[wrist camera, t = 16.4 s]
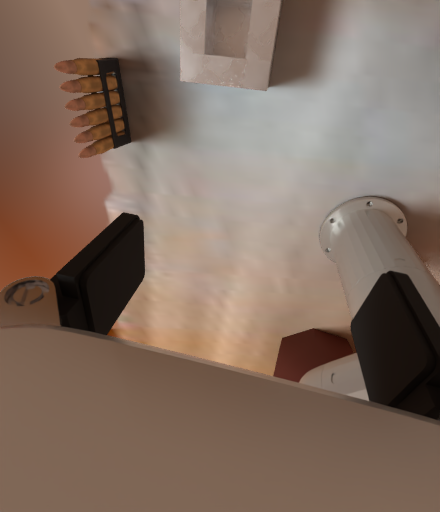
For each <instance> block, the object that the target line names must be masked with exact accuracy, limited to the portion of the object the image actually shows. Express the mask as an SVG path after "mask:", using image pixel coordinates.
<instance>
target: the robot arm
mask: <svg viewBox="0 0 440 512" xmlns="http://www.w3.org/2000/svg"><path fill="white" fill-rule="evenodd" d="M369 201H370V202H369ZM367 202H369V203H367ZM331 218H333V219H331ZM407 227H408V226H407V221H406V218H405V216H404V214H403V212H402V211H401V210H400V209H399V208H398V207H397V206H396V205H395V204H394V203H392V202H390V201H388V200H386V199H383V198H378V197H361V198H356V199H352V200H350V201H347V202H345V203H343V204H341V205H340V206H338V207H337V208H335V209H334V210H333V211H332V212H331V213H330V214H329V215H328V216H327V217H326V219H325V220H324V222H323V224H322V226H321V229H320V235H319V237H320V244H321V248H322V250H323V252H324V254H325V255H326V256H327V257H328V258H329V259H330V260H331V261H333V262H335V263H336V265H337V269H338V272H339V276H340V280H341V283H342V287H343V290H344V294H345V298H346V301H347V305H348V308H349V312H350V315H351V317H352V322H351V332H352V336H353V340H354V344H355V348H356V352H357V353H354V354H352V355H349V356H346V357H343V358H340V359H337V360H334V361H331V362H329V363H326V364H324V365H321V366H318V367H316V368H314V369H312V370H310V371H308V372H307V373H306V374H305V375H304V376H303V377H302V378H301V380H300V382H299V383H297V382H293V381H289V380H286V379H282V378H278V377H274V376H270V375H266V374H262V373H258V372H254V371H250V370H246V369H242V368H238V367H234V366H230V365H226V364H222V363H218V362H214V361H210V360H206V359H202V358H198V357H194V356H190V355H186V354H182V353H178V352H174V351H170V350H166V349H162V348H158V347H154V346H150V345H146V344H142V343H137V342H133V341H129V340H125V339H120V338H116V337H112V336H107V334H108V332H109V331H110V329H111V328H112V326H113V325H114V323H115V322H116V320H117V319H118V317H119V316H120V314H121V313H122V311H123V310H124V308H125V306H126V305H127V303H128V302H129V300H130V299H131V297H132V296H133V294H134V293H135V291H136V290H137V288H138V287H139V285H140V284H141V282H142V280H143V278H144V275H145V259H144V226H143V221H142V220H140V219H139V216H138V215H134V214H129V213H122V214H121V215H120V216H119V217H117V218H116V219H115V220H114V221H113V222H112V223H111V224H110V225H109V226H108V227H107V228H105V229H104V230H103V231H102V232H101V233H100V234H99V235H98V236H97V237H96V238H95V239H94V240H92V241H91V242H90V243H89V244H88V245H87V246H86V247H85V248H84V249H82V250H81V251H80V252H79V253H78V254H77V255H76V256H75V257H74V258H73V259H72V260H70V262H68V263H67V264H66V265H65V266H64V267H63V268H62V269H61V270H60V271H58V272H57V273H56V275H55V276H54V277H52V278H51V279H48V278H44V277H36V276H34V277H26V278H23V279H19V280H17V281H15V282H12V283H10V284H9V285H7V286H6V287H4V288H3V289H2V291H1V292H0V512H440V285H439V283H438V282H437V280H436V279H435V278H434V277H433V275H432V274H431V272H430V271H429V270H428V268H427V267H426V265H425V264H424V263H423V261H422V260H421V259H420V257H419V256H418V254H417V253H416V252H415V250H414V249H413V247H412V246H411V245H410V243H409V242H408V240H407V239H406V235H407Z"/></svg>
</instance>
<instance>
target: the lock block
mask: <svg viewBox="0 0 440 512" xmlns="http://www.w3.org/2000/svg"><path fill="white" fill-rule="evenodd" d="M282 1H283V0H180V81H185V82H194V83H202V84H211V85H220V86H228V87H237V88H246V89H254V90H263V91H267V89H268V87H269V81H270V75H271V69H272V63H273V56H274V50H275V44H276V38H277V32H278V25H279V19H280V13H281V7H282Z"/></svg>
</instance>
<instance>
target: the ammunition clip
mask: <svg viewBox="0 0 440 512" xmlns="http://www.w3.org/2000/svg"><path fill="white" fill-rule="evenodd" d="M54 68H55V69H56V70H58V71H60V72H63V73H68V74H78V75H88V77H82V78H79V79H76V80H71V81H67V82H64V83H63V84H61V85H60V89H61V90H63V91H66V92H70V93H76V92H80V93H81V92H83V93H91V94H89V95H84V96H83V97H81V98H78V99H74V100H71V101H69V102H68V103H67V104H66V105H65V108H66V109H68V110H73V111H79V110H93V109H95V110H93V111H89V112H87V113H86V114H83V115H81V116H78V117H76V118H74V119H73V120H72V121H71V122H70V126H72V127H84V126H89V125H96V126H93V127H91V128H90V129H88V130H86V131H84V132H82V133H80V134H79V135H78V136H76V137H75V139H74V142H76V143H85V142H89V141H93V140H97V141H95V142H94V143H93V144H91V145H89V146H88V147H86V148H84V149H83V150H82V151H81V152H80V153H79V155H78V157H80V158H88V157H91V156H93V155H97V154H102V153H104V152H106V151H108V150H110V149H112V148H114V149H115V148H118V147H120V146H123V145H126V144H128V143H131V137H130V130H129V124H128V118H127V112H126V105H125V99H124V93H123V87H122V80H121V74H120V68H119V62H118V59H117V58H99V59H87V58H78V59H74V60H68V61H61V62H58V63H56V64H55V65H54ZM93 75H100V76H93ZM100 91H103V92H101V93H97V92H100ZM102 107H104V108H102ZM104 122H105V123H104Z"/></svg>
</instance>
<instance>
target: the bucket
mask: <svg viewBox="0 0 440 512" xmlns="http://www.w3.org/2000/svg"><path fill="white" fill-rule="evenodd" d="M352 354H354V353H353V351H352V349H351V347H350V345H349V343H348V341H347V339H345V338H342V337H339V336H336V335H332V334H329V333H326V332H323V331H320V330H317V329H314V328H313V329H310V330H307V331H303V332H300V333H297V334H294V335H290V336H287V337H284V338H282V341H281V345H280V349H279V354H278V358H277V362H276V366H275V371H274V375H273V376H274V377H278V378H282V379H286V380H289V381H293V382H297V383H299V382H300V380H301V378H302V377H303V376H304V375H305V374H306V373H307V372H308V371H310V370H312V369H314V368H316V367H318V366H321V365H324V364H326V363H329V362H331V361H334V360H337V359H340V358H343V357H346V356H349V355H352Z"/></svg>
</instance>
